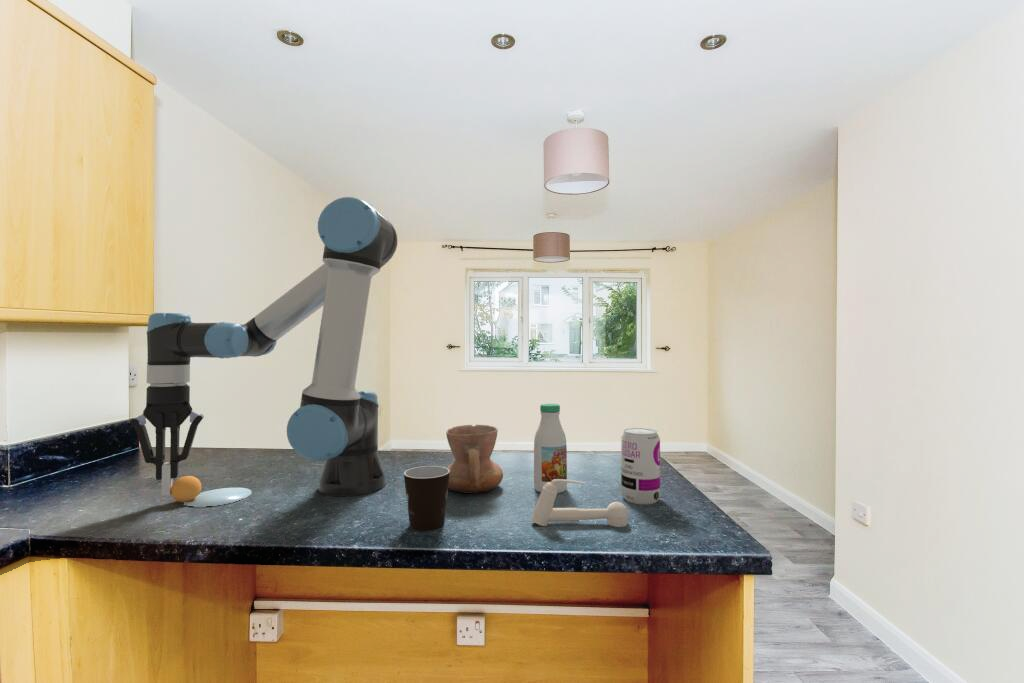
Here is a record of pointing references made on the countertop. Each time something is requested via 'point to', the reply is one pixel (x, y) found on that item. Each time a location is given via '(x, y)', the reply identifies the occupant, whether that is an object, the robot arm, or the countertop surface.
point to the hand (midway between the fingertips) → (167, 493)
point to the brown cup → (426, 496)
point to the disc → (219, 497)
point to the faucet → (574, 509)
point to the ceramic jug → (473, 459)
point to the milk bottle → (550, 449)
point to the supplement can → (640, 466)
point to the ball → (186, 488)
